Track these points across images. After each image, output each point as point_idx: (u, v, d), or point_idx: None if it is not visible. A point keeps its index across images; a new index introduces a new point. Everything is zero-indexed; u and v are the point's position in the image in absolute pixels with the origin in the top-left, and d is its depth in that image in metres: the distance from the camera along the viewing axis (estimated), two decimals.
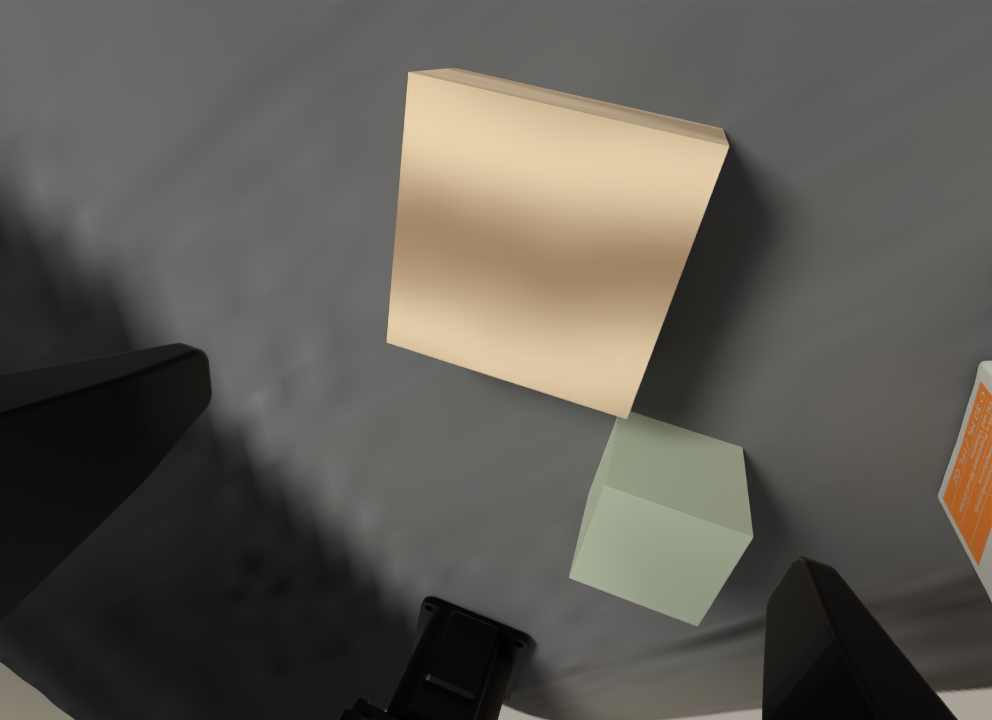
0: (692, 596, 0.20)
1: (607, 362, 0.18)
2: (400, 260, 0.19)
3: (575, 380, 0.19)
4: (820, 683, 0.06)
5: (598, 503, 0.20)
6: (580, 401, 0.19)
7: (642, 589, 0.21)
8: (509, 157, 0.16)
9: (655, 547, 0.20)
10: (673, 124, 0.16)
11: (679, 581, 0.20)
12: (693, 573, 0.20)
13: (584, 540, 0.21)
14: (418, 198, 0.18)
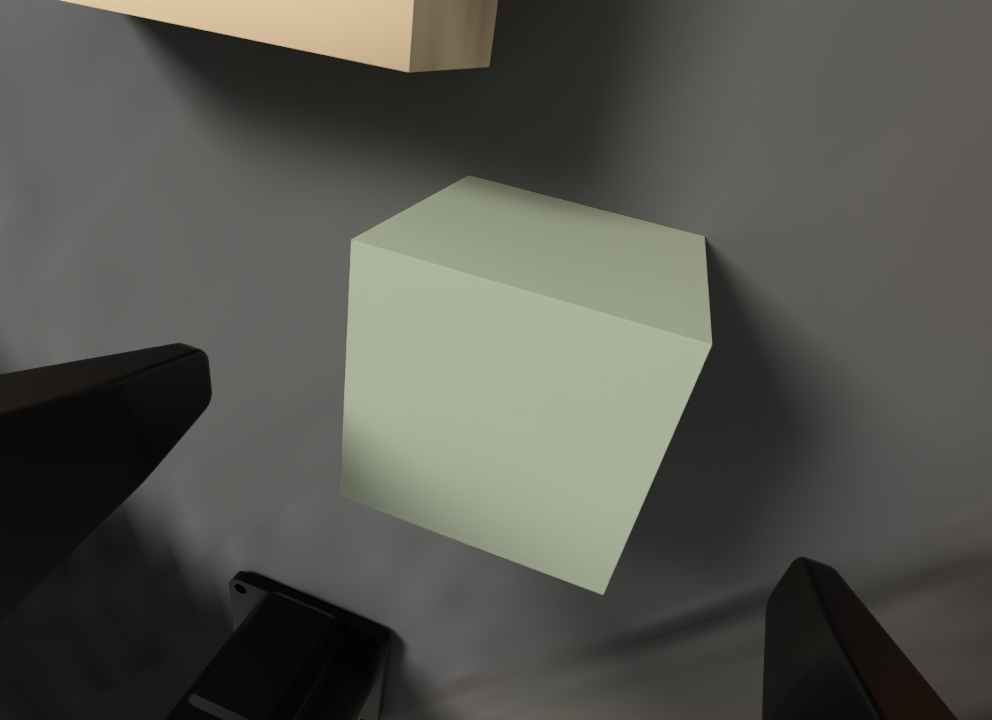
0: (583, 522, 0.09)
1: None
2: None
3: None
4: (820, 683, 0.06)
5: (351, 296, 0.08)
6: (301, 40, 0.08)
7: (481, 513, 0.10)
8: None
9: (489, 402, 0.08)
10: None
11: (553, 487, 0.09)
12: (580, 465, 0.08)
13: (346, 401, 0.09)
14: None
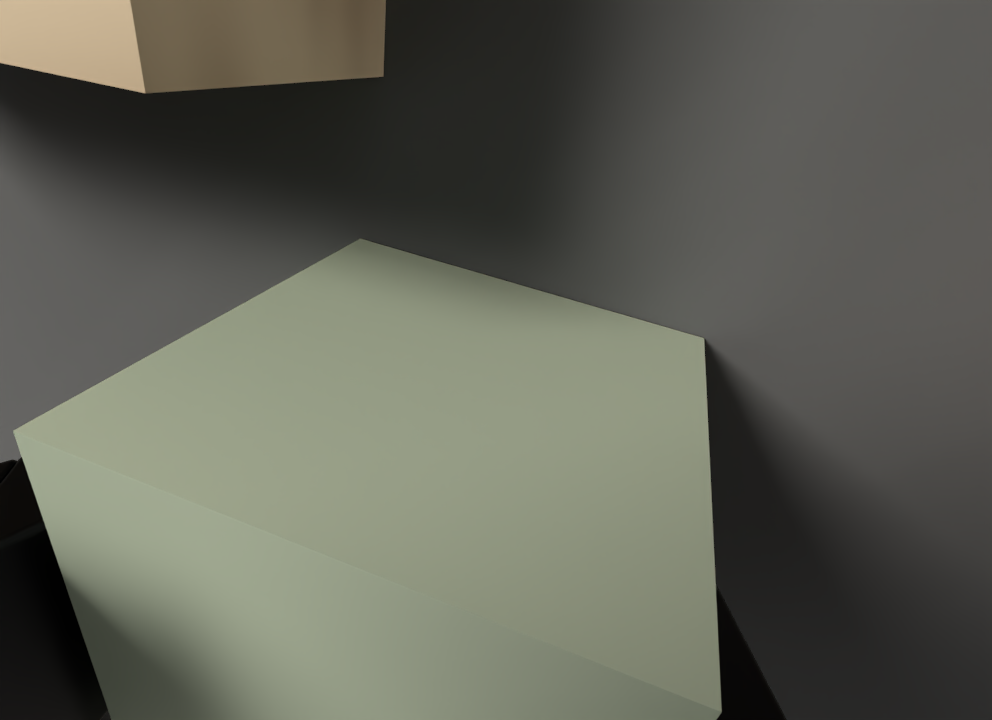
0: None
1: None
2: None
3: None
4: None
5: (49, 516, 0.04)
6: None
7: None
8: None
9: (310, 707, 0.05)
10: None
11: None
12: None
13: (93, 656, 0.05)
14: None
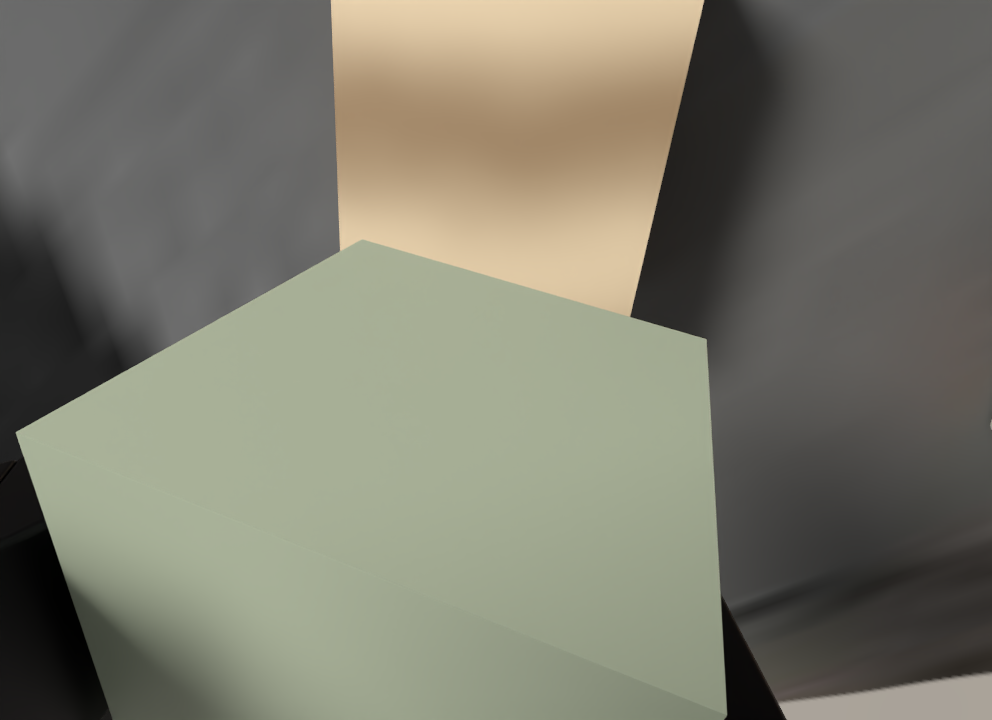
0: None
1: (597, 254, 0.15)
2: (344, 158, 0.16)
3: (561, 285, 0.16)
4: None
5: (52, 518, 0.04)
6: None
7: None
8: None
9: (312, 709, 0.05)
10: None
11: None
12: None
13: (95, 658, 0.05)
14: (356, 72, 0.15)
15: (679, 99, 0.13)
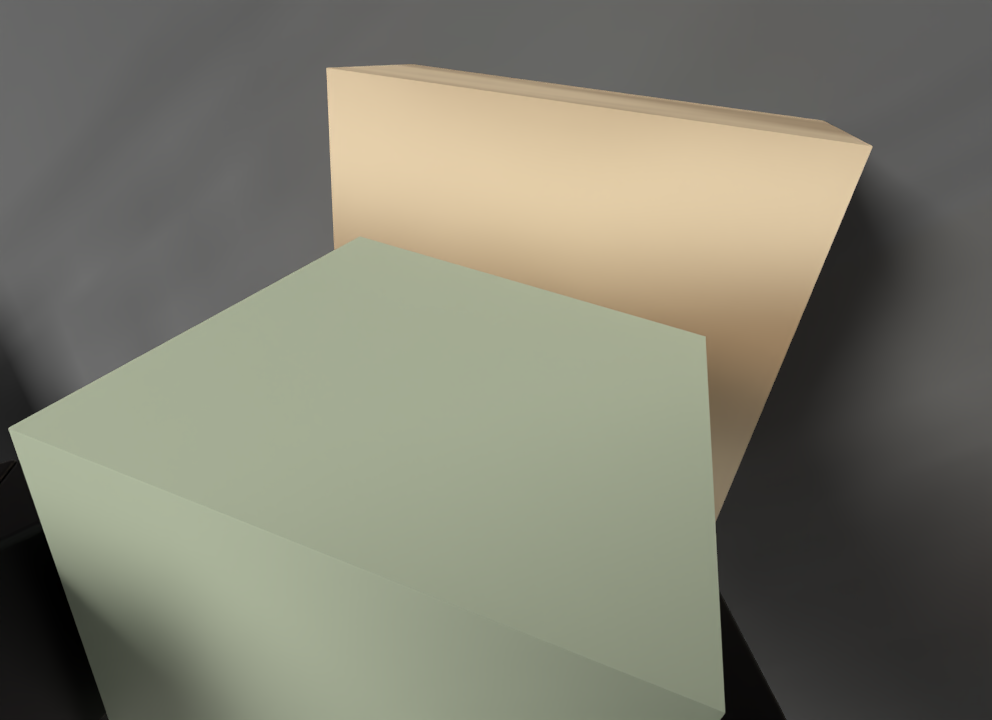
0: None
1: None
2: None
3: None
4: None
5: (46, 515, 0.04)
6: None
7: None
8: (494, 190, 0.10)
9: (309, 706, 0.05)
10: (753, 118, 0.10)
11: None
12: None
13: (90, 656, 0.05)
14: None
15: (791, 335, 0.10)
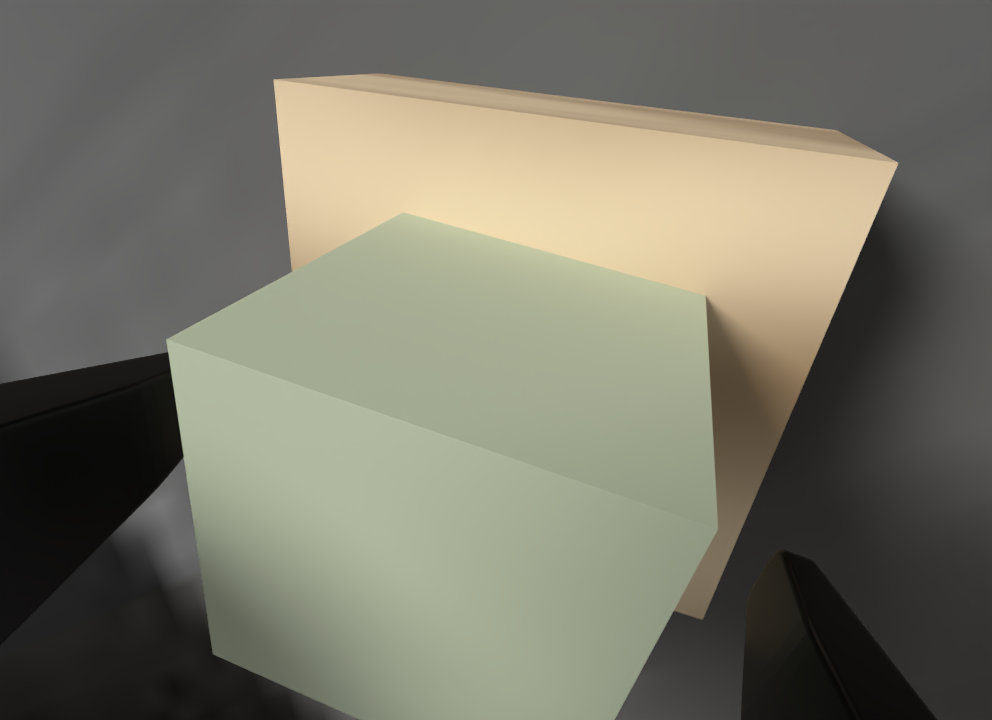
0: None
1: None
2: None
3: None
4: (795, 674, 0.06)
5: (182, 415, 0.06)
6: None
7: (394, 699, 0.07)
8: (464, 214, 0.09)
9: (388, 570, 0.06)
10: (757, 129, 0.09)
11: (487, 682, 0.06)
12: (523, 661, 0.06)
13: (200, 546, 0.07)
14: None
15: (804, 376, 0.09)
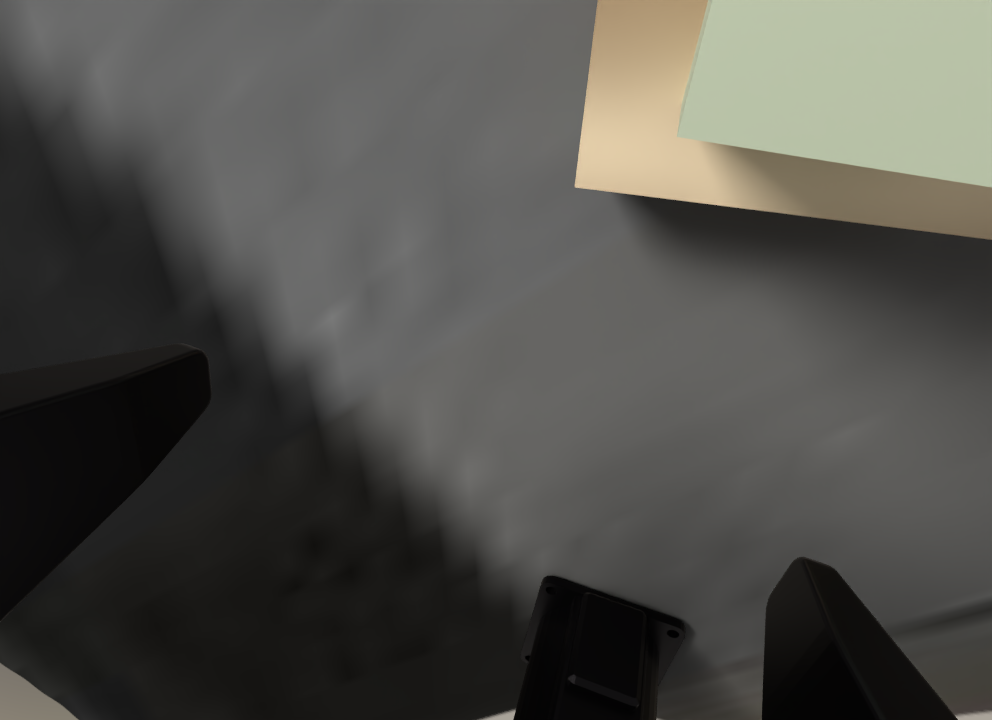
0: None
1: None
2: (606, 30, 0.12)
3: (909, 187, 0.12)
4: (820, 683, 0.06)
5: None
6: (914, 224, 0.12)
7: (908, 101, 0.07)
8: None
9: None
10: None
11: None
12: None
13: None
14: None
15: None
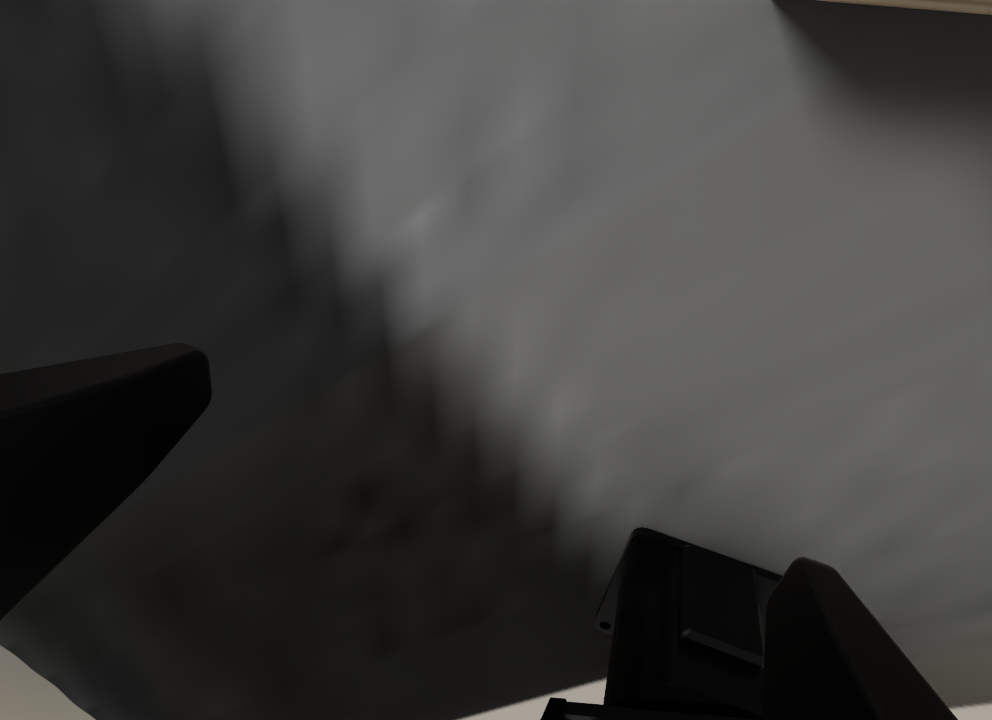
0: None
1: None
2: None
3: None
4: (820, 683, 0.06)
5: None
6: None
7: None
8: None
9: None
10: None
11: None
12: None
13: None
14: None
15: None
